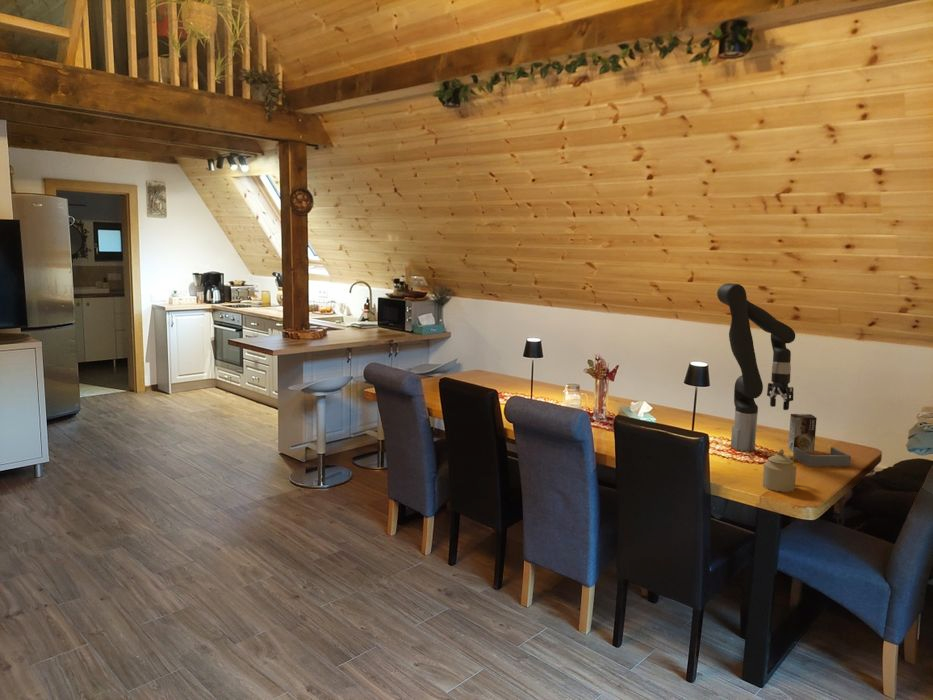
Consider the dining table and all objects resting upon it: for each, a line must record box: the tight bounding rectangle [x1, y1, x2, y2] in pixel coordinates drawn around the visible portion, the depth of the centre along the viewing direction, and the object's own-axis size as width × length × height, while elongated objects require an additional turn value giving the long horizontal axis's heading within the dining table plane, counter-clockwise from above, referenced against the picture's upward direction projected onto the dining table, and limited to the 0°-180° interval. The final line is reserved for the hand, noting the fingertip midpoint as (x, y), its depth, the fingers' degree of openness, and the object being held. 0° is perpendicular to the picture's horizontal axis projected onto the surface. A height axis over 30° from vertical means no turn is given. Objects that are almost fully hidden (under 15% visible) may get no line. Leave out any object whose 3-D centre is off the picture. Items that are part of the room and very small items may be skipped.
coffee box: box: [787, 413, 818, 454], centre depth 295 cm, size 9×6×16 cm
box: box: [792, 447, 852, 467], centre depth 280 cm, size 17×12×4 cm
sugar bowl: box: [762, 448, 797, 493], centre depth 250 cm, size 15×11×15 cm
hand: (779, 408), depth 295 cm, fingers open, 8 cm apart
